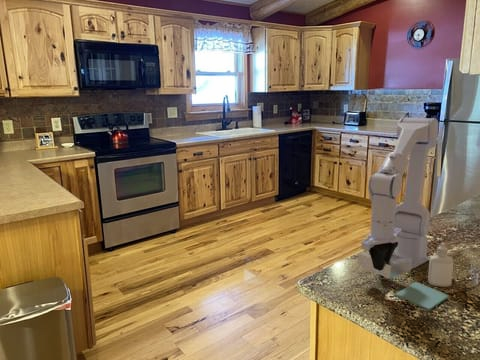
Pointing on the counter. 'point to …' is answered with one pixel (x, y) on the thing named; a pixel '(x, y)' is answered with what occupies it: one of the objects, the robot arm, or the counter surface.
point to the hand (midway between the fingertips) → (380, 267)
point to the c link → (387, 264)
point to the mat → (422, 295)
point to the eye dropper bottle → (440, 268)
